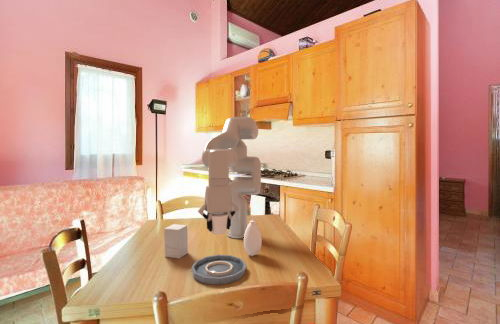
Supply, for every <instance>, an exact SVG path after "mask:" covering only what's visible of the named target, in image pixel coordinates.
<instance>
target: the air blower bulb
mask: <svg viewBox="0 0 500 324" xmlns="http://www.w3.org/2000/svg"><path fill="white" fill-rule="evenodd" d="M262 241H263V240H262V232H261V230H260V227H259V226H258V224H257V221H256V220H254V215H252V217H251V220H249V223H247V228H246V230H245V234H244V238H243V247H244V250H245V252H246V254H247V255H249V256H250V257H254V255H255V256H257V255H258V254H259V252H260V251H261V249H262V243H263V242H262Z"/></svg>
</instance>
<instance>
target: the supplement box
mask: <svg viewBox="0 0 500 324" xmlns="http://www.w3.org/2000/svg"><path fill="white" fill-rule="evenodd" d="M163 230H164V231H163V233H164V235H163V236H164V257H166V258H172V259H181V258H182V257H184V256H185V255H186V254H188V253H189V250H188V249H189V246H188V245H189V242H188V225H186V224H176V223H173V224H170V225H168V226H167V227H165V228H164V229H163Z"/></svg>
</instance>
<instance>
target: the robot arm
mask: <svg viewBox="0 0 500 324" xmlns="http://www.w3.org/2000/svg"><path fill="white" fill-rule="evenodd" d="M253 118H254V117H253ZM253 118H252V117H249V116H232V117H229V118H227V119H226V120H225V122H224V125H223V128H222V131H221V133H219V134H217V135H216V136H214V137H212V138H211V139H209V140H208V142H207V143H206V144H205V145H204V149H203V151H202V154H201V155H202V156H201V163H202V165H204V167H206V168H208V185H206V187H205V194H204V204H203V205H202V206H201V207H200V208H199V209H198V210H197V212H198V213H199V214H200V215H201V217H203V218H204V219H205V220H206V229H207V230H208V231H209V232H210V233H211V232H212V221H211V218H212V215H213V214H214V213H224V212H225V213H227V214H228V219H227V229H226V230H227V231H226V236H227V237H228V238H232V239H244V238H243V237H244V234H245V230H246V228H247V226H248V201H247V199H246V197H245V195H248V196H256V195H259V194H260V193H261V189H262V188H261V187H262V185H261V184H262V182H261V181H262V179H261V177H262V170H261V167H262V166H261V165H262V164H261V159H260V158H259V157H257V156H248V146H247V145H246V144H245V143H246V142H244V140H255V139H257V137H258V136H259V127H258V124H257V122H256V121H255V119H253ZM229 169H230V170H231V172H232V173H233V174H236V175H251V176H232V177H229V176H230V172H229ZM204 211H205V212H207V213H205V212H204Z"/></svg>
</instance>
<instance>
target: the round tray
mask: <svg viewBox="0 0 500 324" xmlns="http://www.w3.org/2000/svg"><path fill="white" fill-rule="evenodd" d="M246 268H247V263H245V261H244V260H243V259H242V258H240V257H237V256H234V255H229V254H215V255H208V256H207V255H206V256H204V257H202V258H200V259H197V260H196V261H195V262H194V263H193V264H192V266H191V273H192V274H191V275H192V278H193V279H194V280H195V281H198V282H199V283H201V284H206V285H212V286H213V285H215V286H216V285H219V286H221V285H227V284H230V283H231V284H232V283H234V282H237V281H239V280H240V279H242V277H244V276H245V274H246Z"/></svg>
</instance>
